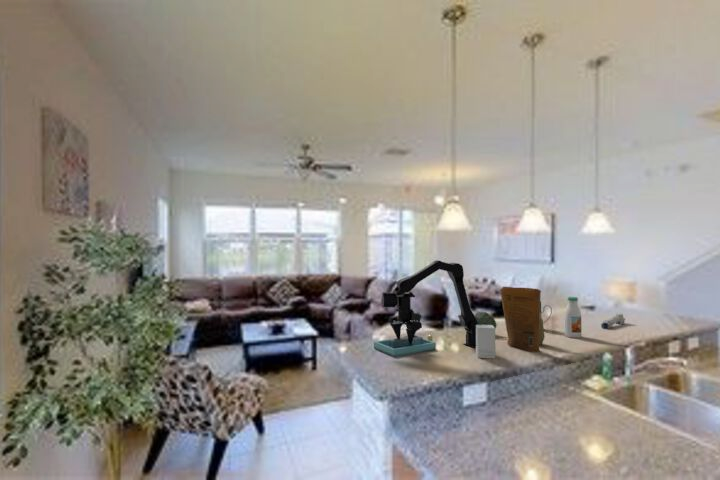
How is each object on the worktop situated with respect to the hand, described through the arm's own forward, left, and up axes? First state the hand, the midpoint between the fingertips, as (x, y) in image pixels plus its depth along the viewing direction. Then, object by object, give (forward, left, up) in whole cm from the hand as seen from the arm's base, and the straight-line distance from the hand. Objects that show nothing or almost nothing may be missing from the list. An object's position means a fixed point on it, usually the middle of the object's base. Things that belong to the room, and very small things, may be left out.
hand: (404, 341), depth 191 cm
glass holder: (-5, -87, -4) cm, 87 cm away
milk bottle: (-25, -87, -4) cm, 91 cm away
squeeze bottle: (-25, -58, -4) cm, 63 cm away
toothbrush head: (-21, -130, -4) cm, 132 cm away
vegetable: (+4, -53, -4) cm, 54 cm away
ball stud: (+3, -17, -4) cm, 18 cm away
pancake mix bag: (-27, -46, -4) cm, 53 cm away
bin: (0, 0, -4) cm, 4 cm away
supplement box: (-27, -23, -4) cm, 36 cm away
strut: (0, 0, -3) cm, 3 cm away
